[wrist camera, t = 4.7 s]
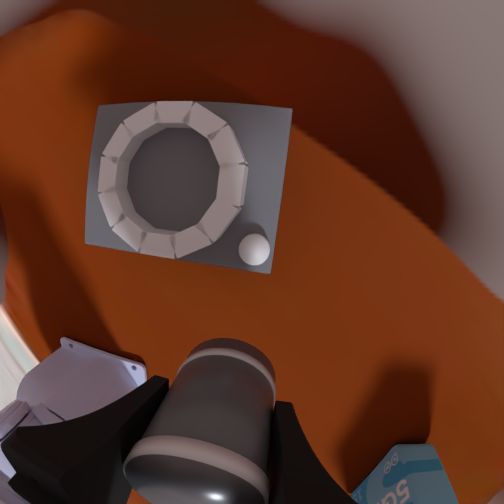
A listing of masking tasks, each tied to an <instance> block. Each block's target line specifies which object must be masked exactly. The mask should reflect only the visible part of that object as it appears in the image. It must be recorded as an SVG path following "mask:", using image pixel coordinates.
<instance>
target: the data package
mask: <svg viewBox="0 0 504 504" xmlns="http://www.w3.org/2000/svg"><path fill="white" fill-rule="evenodd" d="M351 498H352V499H353V500H355V501H356V502H357V503H358V504H459V503H458V501H457V498H456V496H455V493H454V491H453V489H452V486H451V484H450V481H449V479H448V477H447V475H446V472H445V470H444V468H443V466H442V463H441V461H440V459H439V457H438V455H437V453H436V450H435V448H434V447H433V445H431V444H397V445H395V446H393V447H392V448H391V449H390V451H389V452H388V453H387V454H386V456H385V457H384V458H383V459H382V460H381V462H380V463H379V464H378V465H377V466H376V467H375V469H374V470H373V471H372V472H371V473H370V474H369V475H368V476H367V478H366V479H365V480H364V481H363V482H362V483H361V484H360V485H359V486H358V487H357V488H356V489H355V490H354V491H353V493H352V495H351Z"/></svg>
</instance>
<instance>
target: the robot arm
mask: <svg viewBox="0 0 504 504" xmlns="http://www.w3.org/2000/svg"><path fill="white" fill-rule="evenodd" d="M60 342H61V347H60V348H59V349H58V350H56V351H55V352H54V353H52V354H51V355H50V356H48V357H47V358H46V359H45V360H43V361H42V362H41V363H40V364H38V365H37V366H36V367H34V368H33V369H32V370H31V371H29V372H28V373H27V374H26V375H25V377H24V378H23V379H22V381H21V383H20V385H19V388H18V391H17V400H14V401H13V402H11V403H10V404H9V405H8V406H6V407H5V408H4V409H2V410H1V411H0V504H126V503H127V501H128V498H129V495H130V493H131V490H132V486H131V485H130V484H129V482H128V480H127V479H126V477H125V474H124V471H123V464H124V461H125V460H126V458H127V456H128V454H129V453H130V451H131V449H132V447H133V446H134V445H135V443H137V442H138V441H139V440H141V438H142V436H143V435H144V433H145V431H146V429H147V427H148V426H149V424H150V422H151V420H152V419H153V417H154V415H155V413H156V412H157V410H158V408H159V406H160V404H161V403H162V401H163V399H164V397H165V396H166V394H167V392H168V390H169V379H167V378H164V377H160V376H157V375H155V376H153V377H151V378H150V379H149V380H147V377H146V367H145V366H144V365H143V364H142V363H140V362H136V361H133V360H129V359H126V358H123V357H120V356H117V355H114V354H111V353H108V352H105V351H102V350H99V349H96V348H93V347H90V346H87V345H85V344H82V343H79V342H77V341H74V340H71V339H69V338H66V337H62V338H61V339H60ZM133 365H134V366H135V367H136V368H135V367H134V366H133ZM268 480H269V483H270V490H269V501H268V504H358V503H357V502H356V501H355V500H353V499H352V498H351V497H350V496H349V495H348V494H347V493H346V492H345V491H344V490H343V489H342V488H341V487H340V486H339V485H338V484H337V483H336V482H335V481H334V480H333V478H332V477H331V476H330V475H329V473H328V472H327V471H326V470H325V468H324V467H323V465H322V464H321V463H320V461H319V460H318V458H317V457H316V455H315V453H314V452H313V450H312V448H311V446H310V445H309V443H308V441H307V439H306V437H305V435H304V433H303V431H302V428H301V426H300V424H299V421H298V419H297V416H296V413H295V410H294V407H293V404H292V403H291V402H283V401H276V403H275V407H274V410H273V420H272V433H271V445H270V456H269V467H268Z"/></svg>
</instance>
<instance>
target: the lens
mask: <svg viewBox="0 0 504 504" xmlns="http://www.w3.org/2000/svg"><path fill="white" fill-rule="evenodd" d="M275 395H276V388H275V372H274V369H273V366H272V364H271V362H270V361H269V359H268V358H267V357H266V356H265V355H264V354H263V353H262V352H261V351H260V350H258V349H257V348H255V347H254V346H252V345H250V344H248V343H246V342H243V341H240V340H236V339H229V338H218V339H212V340H208V341H205V342H203V343H201V344H199V345H198V346H196V347H195V348H194V349H193V350H192V351H191V352H190V354H189V355H188V357H187V359H186V360H185V361H184V362H183V364H182V365H181V367H180V369H179V370H178V372H177V375H176V378H175V380H174V382H173V383H172V385H171V387H170V389H169V390H168V392H167V394H166V396H165V397H164V399H163V401H162V403H161V404H160V406H159V408H158V410H157V412H156V413H155V415H154V417H153V419H152V420H151V422H150V424H149V426H148V427H147V429H146V431H145V433H144V435H143V436H142V438H141V440H139V441H138V442H137V443H135V445H134V446H133V447H132V449H131V451H130V453H129V454H128V456H127V458H126V460H125V461H124V464H123V471H124V474H125V477H126V479H127V480H128V482H129V484H130V485H131V486H132V487H133V489H134V490H135V491H136V492H137V493H138V494H140V495H141V496H142V497H143V498H145V499H146V500H147V501H149V502H150V503H152V504H268V501H269V490H270V483H269V480H268V467H269V456H270V445H271V433H272V420H273V407H274V404H275Z"/></svg>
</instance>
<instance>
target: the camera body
mask: <svg viewBox="0 0 504 504" xmlns="http://www.w3.org/2000/svg"><path fill="white" fill-rule="evenodd" d="M291 118H292V109H289V108H281V107H272V106H263V105H253V104H240V103H225V102H199V101H157V102H136V103H121V104H109V105H99V107H98V112H97V117H96V123H95V129H94V135H93V141H92V149H91V156H90V165H89V174H88V185H87V199H86V219H85V244H91V245H96V246H102V247H107V248H113V249H119V250H124V251H130V252H136V253H142V254H147V255H153V256H159V257H165V258H171V259H178V260H184V261H190V262H196V263H202V264H209V265H215V266H221V267H228V268H234V269H241V270H247V271H254V272H260V273H267V274H270V272H271V266H272V259H273V253H274V246H275V239H276V232H277V225H278V218H279V211H280V203H281V196H282V189H283V181H284V174H285V166H286V158H287V150H288V143H289V134H290V126H291Z"/></svg>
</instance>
